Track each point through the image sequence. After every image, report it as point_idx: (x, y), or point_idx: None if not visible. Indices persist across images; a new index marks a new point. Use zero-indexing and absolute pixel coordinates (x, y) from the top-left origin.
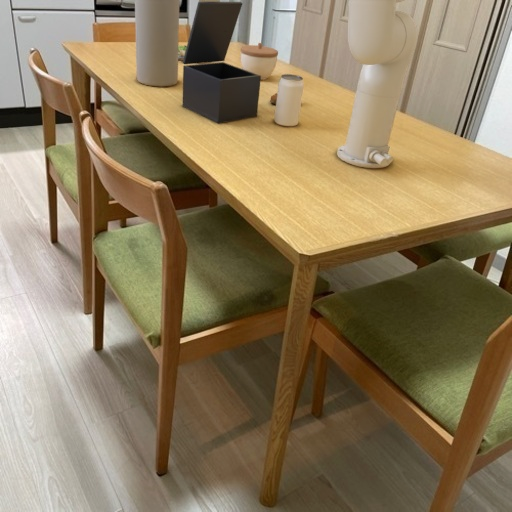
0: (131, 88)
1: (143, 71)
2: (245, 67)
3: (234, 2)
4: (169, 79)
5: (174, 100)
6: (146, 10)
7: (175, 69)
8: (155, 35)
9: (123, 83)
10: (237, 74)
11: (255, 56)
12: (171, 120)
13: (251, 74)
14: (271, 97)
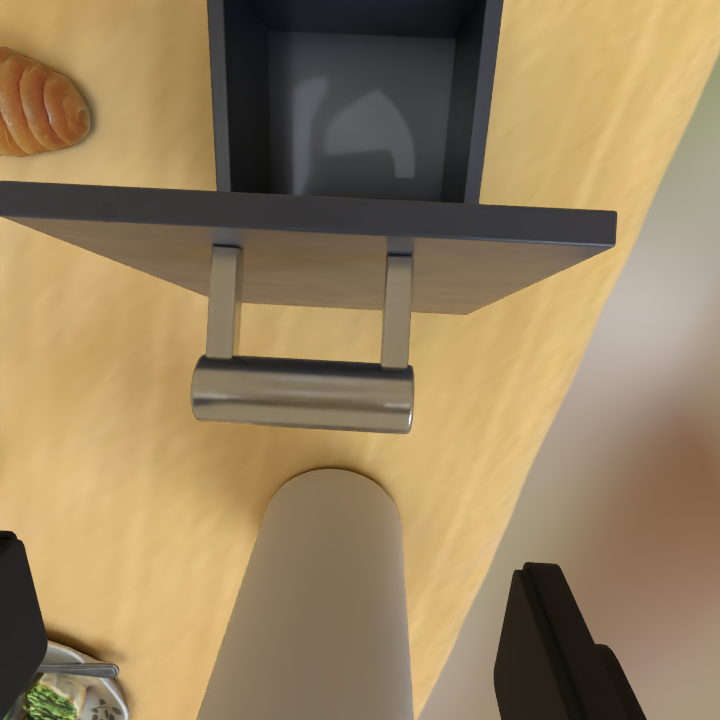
0: (458, 498)
1: (401, 541)
2: None
3: (106, 203)
4: (330, 479)
5: (419, 338)
6: None
7: (295, 502)
8: (377, 615)
9: (445, 547)
10: (237, 155)
11: None
12: (591, 154)
13: (226, 27)
14: (75, 128)
